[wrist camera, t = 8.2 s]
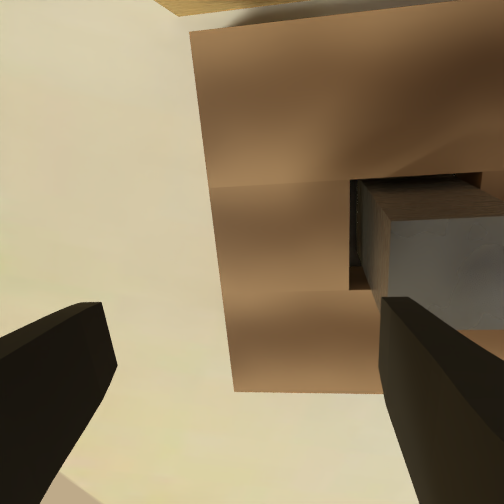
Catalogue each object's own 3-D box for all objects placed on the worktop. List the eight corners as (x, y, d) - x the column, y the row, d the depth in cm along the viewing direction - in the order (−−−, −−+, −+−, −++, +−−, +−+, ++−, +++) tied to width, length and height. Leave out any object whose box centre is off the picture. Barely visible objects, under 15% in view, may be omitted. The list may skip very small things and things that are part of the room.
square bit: (434, 246, 18) (509, 329, 12) (356, 249, 19) (386, 330, 12) (441, 169, 17) (530, 214, 10) (357, 175, 17) (391, 221, 11)
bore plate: (552, 361, 20) (586, 397, 17) (241, 360, 22) (234, 391, 20) (641, -9, 14) (709, -30, 12) (205, 41, 16) (189, 31, 14)
